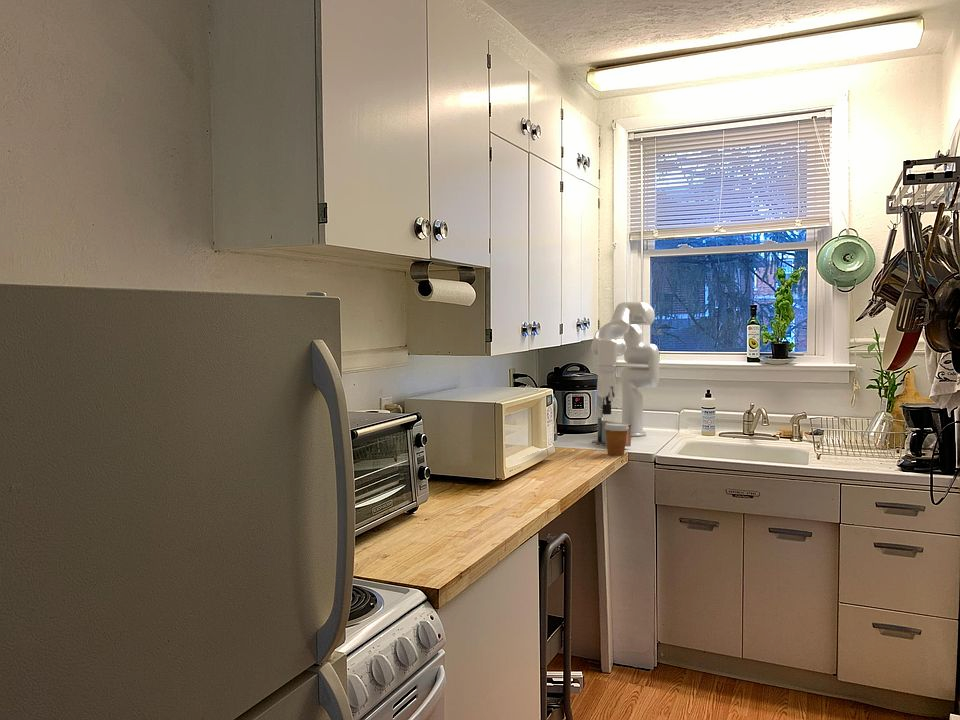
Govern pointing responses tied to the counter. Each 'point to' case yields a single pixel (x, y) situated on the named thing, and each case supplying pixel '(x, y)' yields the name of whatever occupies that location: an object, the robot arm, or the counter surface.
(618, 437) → the disposable coffee cup
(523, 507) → the counter surface
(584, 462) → the counter surface
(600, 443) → the hinge post
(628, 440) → the bar
